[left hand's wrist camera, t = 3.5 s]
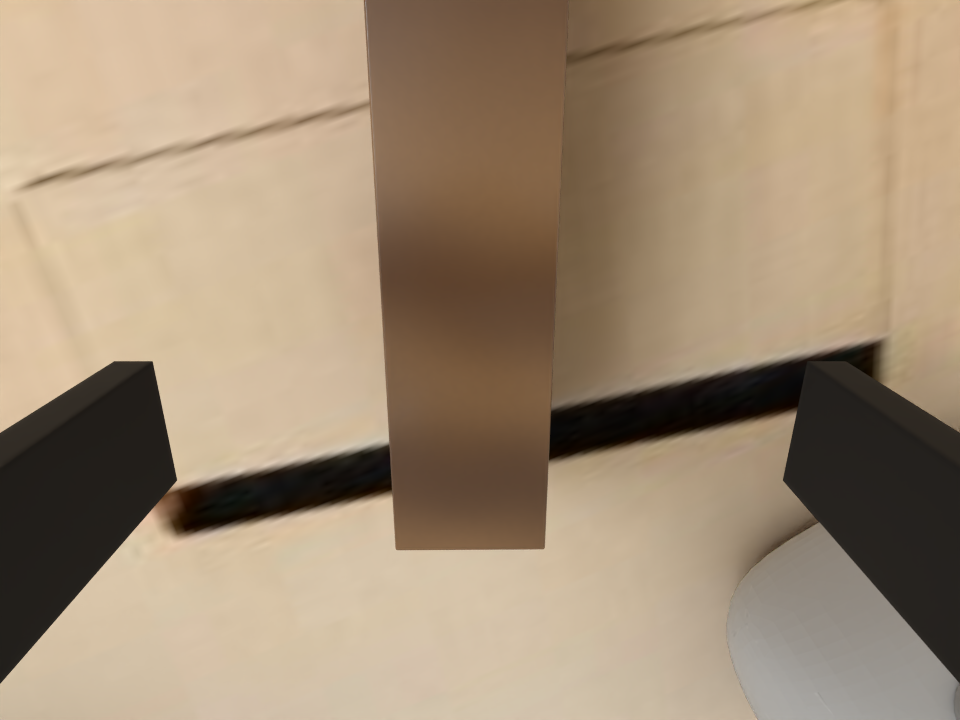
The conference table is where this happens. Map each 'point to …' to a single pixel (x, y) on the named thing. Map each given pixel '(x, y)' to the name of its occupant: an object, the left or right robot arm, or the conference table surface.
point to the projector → (829, 642)
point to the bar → (468, 260)
